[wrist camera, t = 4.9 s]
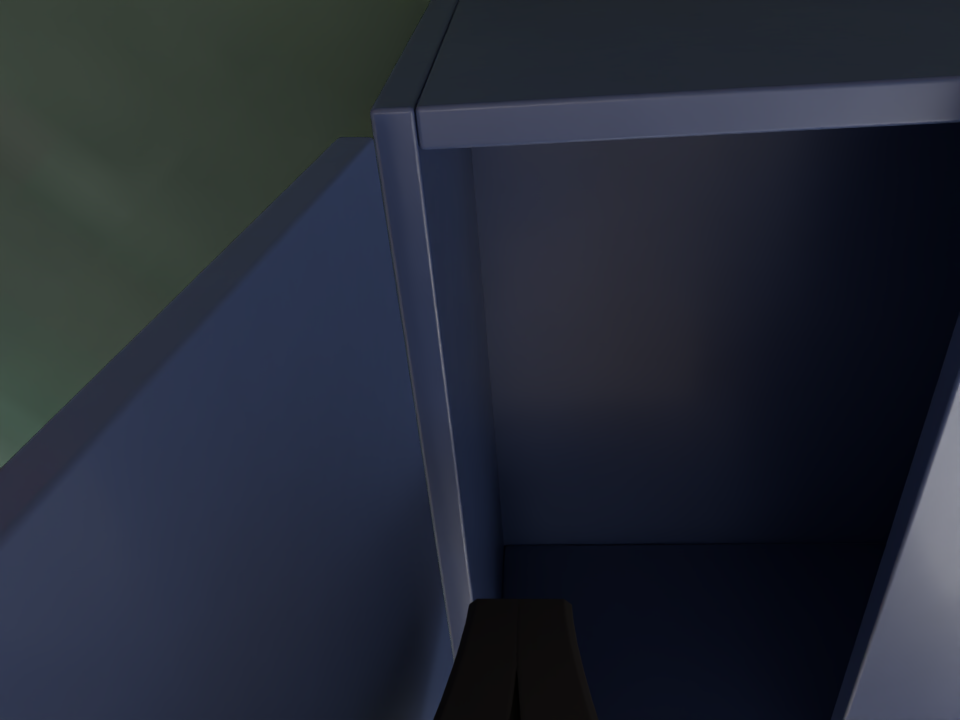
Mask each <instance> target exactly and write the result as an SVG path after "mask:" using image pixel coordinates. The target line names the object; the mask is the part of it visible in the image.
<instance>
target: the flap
mask: <svg viewBox="0 0 960 720" xmlns="http://www.w3.org/2000/svg"><path fill="white" fill-rule="evenodd" d="M453 664H454V660H453V654H452V647H451V641H450V634H449V628H448V621H447V615H446V608H445V602H444V595H443V588H442V582H441V575H440V569H439V562H438V556H437V549H436V543H435V536H434V530H433V523H432V517H431V510H430V504H429V497H428V491H427V484H426V478H425V471H424V465H423V458H422V452H421V445H420V439H419V432H418V426H417V419H416V413H415V406H414V400H413V393H412V387H411V380H410V374H409V367H408V361H407V354H406V348H405V341H404V335H403V328H402V322H401V315H400V309H399V302H398V296H397V289H396V282H395V276H394V269H393V263H392V256H391V250H390V243H389V237H388V230H387V224H386V217H385V211H384V204H383V198H382V191H381V185H380V178H379V172H378V165H377V159H376V152H375V146H374V140H373V138H370V137H340V138H338V139H337V140H336V141H335V142H334V143H333V144H332V145H330V146H329V147H328V148H327V149H326V150H325V151H324V152H323V153H322V154H321V155H320V156H319V157H318V158H317V159H316V160H315V161H314V162H313V163H312V164H311V165H310V166H309V167H308V168H307V169H306V170H305V171H304V172H303V173H302V174H301V175H300V176H299V177H298V178H297V179H296V180H295V181H294V182H293V183H292V184H291V185H290V186H289V187H288V188H287V189H286V190H285V191H284V192H282V193H281V194H280V195H279V196H278V197H277V198H276V199H275V200H274V201H273V202H272V203H271V204H270V205H269V206H268V207H267V208H266V209H265V210H264V211H263V212H262V213H261V214H260V215H259V216H258V217H257V218H256V219H255V220H254V221H253V222H252V223H251V224H250V225H249V226H248V227H247V228H246V229H245V230H244V231H243V232H242V233H241V234H240V235H239V236H238V237H237V238H235V239H234V240H233V241H232V242H231V243H230V244H229V245H228V246H227V247H226V248H225V249H224V250H223V251H222V252H221V253H220V254H219V255H218V256H217V257H216V258H215V259H214V260H213V261H212V262H211V263H210V264H209V265H208V266H207V267H206V268H205V269H204V270H203V271H202V272H201V273H200V274H199V275H198V276H197V277H196V278H195V279H194V280H193V281H192V282H191V283H190V284H189V285H187V286H186V287H185V288H184V289H183V290H182V291H181V292H180V293H179V294H178V295H177V296H176V297H175V298H174V299H173V300H172V301H171V302H170V303H169V304H168V305H167V306H166V307H165V308H164V309H163V310H162V311H161V312H160V313H159V314H158V315H157V316H156V317H155V318H154V319H153V320H152V321H151V322H150V323H149V324H148V325H147V326H146V327H145V328H144V329H143V330H142V331H140V332H139V333H138V334H137V335H136V336H135V337H134V338H133V339H132V340H131V341H130V342H129V343H128V344H127V345H126V346H125V347H124V348H123V349H122V350H121V351H120V352H119V353H118V354H117V355H116V356H115V357H114V358H113V359H112V360H111V361H110V362H109V363H108V364H107V365H106V366H105V367H104V368H103V369H102V370H101V371H100V372H99V373H98V374H97V375H96V376H95V377H93V378H92V379H91V380H90V381H89V382H88V383H87V384H86V385H85V386H84V387H83V388H82V389H81V390H80V391H79V392H78V393H77V394H76V395H75V396H74V397H73V398H72V399H71V400H70V401H69V402H68V403H67V404H66V405H65V406H64V407H63V408H62V409H61V410H60V411H59V412H58V413H57V414H56V415H55V416H54V417H53V418H52V419H51V420H50V421H49V422H48V423H47V424H45V425H44V426H43V427H42V428H41V429H40V430H39V431H38V432H37V433H36V434H35V435H34V436H33V437H32V438H31V439H30V440H29V441H28V442H27V443H26V444H25V445H24V446H23V447H22V448H21V449H20V450H19V451H18V452H17V453H16V454H15V455H14V456H13V457H12V458H11V459H10V460H9V461H8V462H7V463H6V464H5V465H4V466H3V467H2V468H1V469H0V720H433V719H434V716H435V714H436V711H437V709H438V706H439V704H440V701H441V698H442V696H443V693H444V690H445V687H446V684H447V681H448V678H449V676H450V673H451V670H452V667H453Z"/></svg>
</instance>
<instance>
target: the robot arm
mask: <svg viewBox="0 0 960 720" xmlns="http://www.w3.org/2000/svg"><path fill="white" fill-rule="evenodd" d="M433 720H598V717H597V713H596V710H595V707H594V704H593V701H592V697H591V694H590V690H589V687H588V683H587V680H586V676H585V672H584V669H583V665H582V661H581V656H580V652H579V648H578V643H577V638H576V632H575V626H574V620H573V612H572V604H570V603H569V602H568V601H566V600H565V599H476V600H474V601H473V602H471V603H470V604H469V608H468V612H467V617H466V622H465V626H464V630H463V633H462V637H461V641H460V644H459V648H458V651H457V654H456V658H455V661H454V664H453V667H452V670H451V673H450V676H449V678H448V681H447V684H446V687H445V690H444V693H443V696H442V698H441V701H440V704H439V706H438V709H437V711H436V714H435V716H434V719H433Z"/></svg>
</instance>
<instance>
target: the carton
mask: <svg viewBox="0 0 960 720" xmlns="http://www.w3.org/2000/svg"><path fill="white" fill-rule="evenodd" d="M370 117H371V123H372V130H373V137H374V143H375V150H376V156H377V163H378V169H379V176H380V182H381V189H382V195H383V202H384V208H385V215H386V221H387V228H388V234H389V241H390V247H391V254H392V260H393V267H394V274H395V280H396V287H397V293H398V300H399V306H400V313H401V319H402V326H403V332H404V339H405V345H406V352H407V358H408V365H409V371H410V378H411V384H412V391H413V397H414V404H415V411H416V417H417V424H418V430H419V437H420V443H421V450H422V456H423V463H424V469H425V476H426V482H427V489H428V495H429V502H430V508H431V515H432V521H433V528H434V534H435V541H436V548H437V554H438V561H439V567H440V574H441V580H442V587H443V593H444V600H445V606H446V613H447V619H448V626H449V632H450V639H451V645H452V652H453V658H454V661H455V658H456V654H457V651H458V648H459V644H460V641H461V637H462V633H463V630H464V626H465V622H466V617H467V612H468V608H469V604H470V603H471V602H473V601H474V600H476V599H565V600H566V601H568V602H569V603H570V604H572V612H573V620H574V626H575V632H576V638H577V643H578V648H579V652H580V656H581V661H582V665H583V669H584V672H585V676H586V680H587V683H588V687H589V690H590V694H591V697H592V701H593V704H594V707H595V710H596V713H597V717H598V720H960V0H431V1H430V3H429V5H428V7H427V9H426V10H425V12H424V14H423V16H422V18H421V20H420V21H419V23H418V25H417V27H416V29H415V30H414V32H413V34H412V36H411V38H410V40H409V41H408V43H407V45H406V47H405V49H404V50H403V52H402V54H401V56H400V58H399V60H398V61H397V63H396V65H395V67H394V69H393V70H392V72H391V74H390V76H389V78H388V80H387V81H386V83H385V85H384V87H383V89H382V90H381V92H380V94H379V96H378V98H377V100H376V101H375V103H374V105H373V107H372V109H371V112H370Z"/></svg>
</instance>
